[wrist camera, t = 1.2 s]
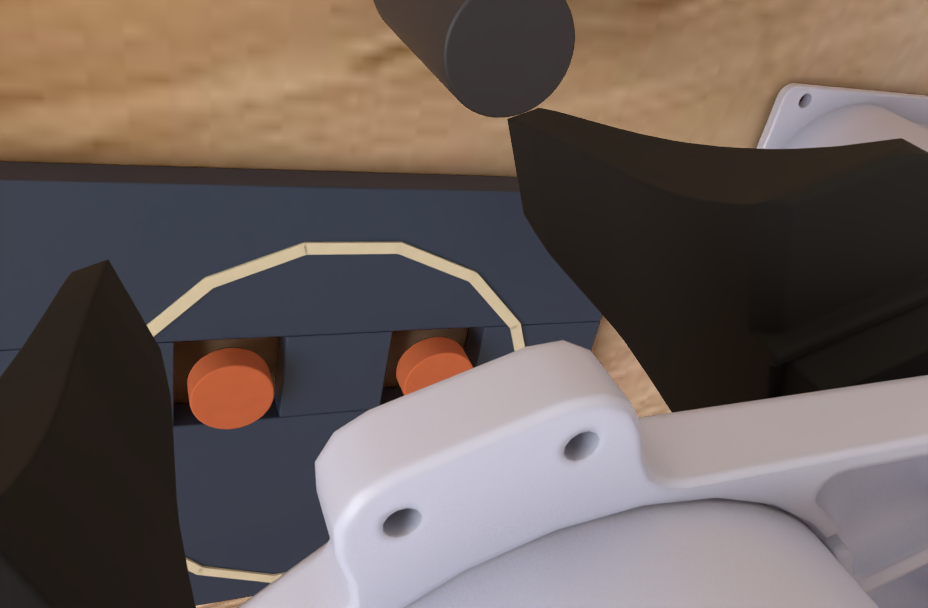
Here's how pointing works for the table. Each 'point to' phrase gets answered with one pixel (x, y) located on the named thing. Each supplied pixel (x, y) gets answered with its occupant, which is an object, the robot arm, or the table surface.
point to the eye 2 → (430, 363)
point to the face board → (282, 312)
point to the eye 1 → (230, 388)
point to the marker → (488, 48)
